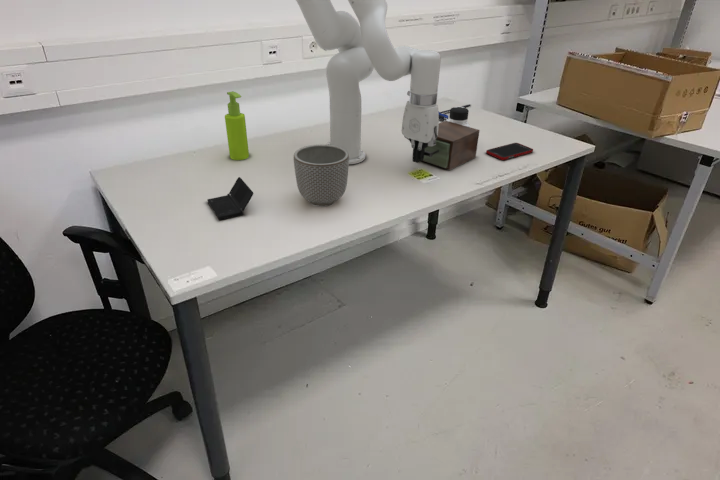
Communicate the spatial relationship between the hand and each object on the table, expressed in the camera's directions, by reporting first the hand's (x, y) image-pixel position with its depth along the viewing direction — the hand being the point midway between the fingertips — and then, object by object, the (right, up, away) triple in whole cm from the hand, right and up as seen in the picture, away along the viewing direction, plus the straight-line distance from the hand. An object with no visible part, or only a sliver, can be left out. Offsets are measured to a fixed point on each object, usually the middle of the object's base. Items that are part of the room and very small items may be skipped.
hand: (417, 160), depth 144 cm
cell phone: (+32, +5, +16) cm, 36 cm away
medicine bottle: (+16, +10, +23) cm, 30 cm away
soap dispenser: (-55, +2, +9) cm, 55 cm away
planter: (-27, -13, -15) cm, 34 cm away
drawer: (+7, +2, +8) cm, 11 cm away
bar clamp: (+18, +27, +52) cm, 61 cm away
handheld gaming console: (-50, -15, -19) cm, 56 cm away
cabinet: (+10, +3, +11) cm, 15 cm away
